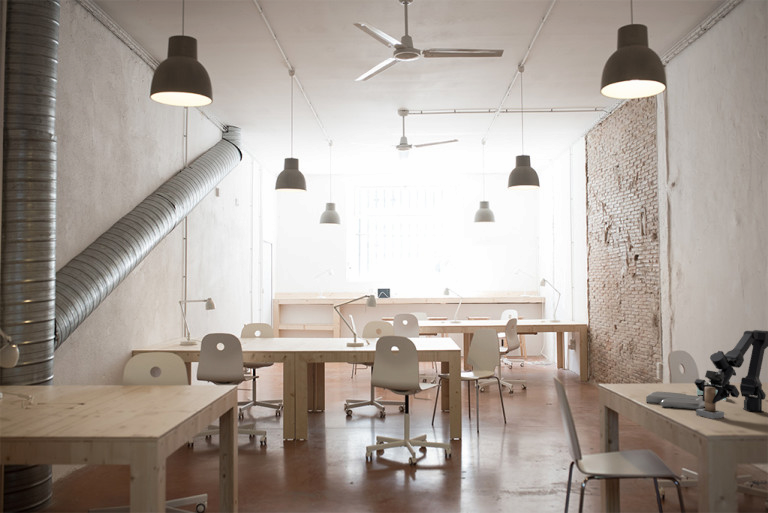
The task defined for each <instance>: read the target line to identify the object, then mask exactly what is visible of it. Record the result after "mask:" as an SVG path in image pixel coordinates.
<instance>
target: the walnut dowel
mask: <svg viewBox="0 0 768 513" xmlns="http://www.w3.org/2000/svg"><path fill="white" fill-rule="evenodd" d="M715 396H716V388H715V387H705V408H704V409H705V411H707V412H716V410H717V408H716V406H717V402H716V403H713V402H712V401H713V399H714V397H715Z"/></svg>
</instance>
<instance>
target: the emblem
mask: <svg viewBox="0 0 768 513" xmlns="http://www.w3.org/2000/svg"><path fill="white" fill-rule="evenodd" d="M702 399H703V396H698V395H692V394H686V393H681V392H673V391H672V392H671V391H670V392H669V391H652V392H650V393H649V394H647V395H646V396H645V400H646V401H645V403H646V402H648V403H647V404H652V403H660V404H659V405H660V406H661V407H663V408H671V407H673V408H672V409H687V410H697V409H704V408H703V407H705V401H703V400H702Z"/></svg>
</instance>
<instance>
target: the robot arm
mask: <svg viewBox="0 0 768 513" xmlns="http://www.w3.org/2000/svg"><path fill="white" fill-rule="evenodd" d="M751 346H752V350H751V354H750V358H749V359H750V361H749V364H748V370H747V375H746V376H745V377H742V378H741V380H740V385H739V389H740V391H739V390H738V388H737V386H736V385H735V384H731V382H730V380H731V378H732V377H733V376H734V377H735V376H737V372H736V369H734V368H737V369H739V368H741V367H742V365H743V363H744V361H745V357H744V356H745V354H746V353H747V351H749V349H750V347H751ZM767 348H768V330H763V329H761V330H759V329H754V330H745V331H744V332H743V335H742V336H741V337H740V339H739V341H738V342H737V343H736V345H735V346H734V348H732V349H731V350H729V351H728V350H727V352H726V353H724V351H723V350H718V351H717V352H713V353H712V354H711V355H710V357H709V358H710V361H711V362H712V364H713V366H714V367H715V369H717V371H714V370H708V369H707V370H706V371H705V372H706V373H705V375H704V378H706V379H708V381H706V380H705V379H701V378H696V379H695V380H694V382H693V383H694V384H695V386H696V388H697V387H698V389H699V390H700V391H703V399H702V400H703V401H705V387H715V388H716V390H718V392H717V394H716V396H715V397H714V399H713V401H712V402H713V403H716V404H717V403H718V402H720V401H723V400H722V399H724V398H726V399H727V398H730V397H731V398H739V396H740V395H741V397H744V400H743V408H742V410H745V409H746V410H745V411H747V410H748V412H750V411H761V412H760V413H764V412H765V410H762V409H763V407H762V406H763V401H764V400H766V392H764V390H763V388H762V387H763V384H762V382H761V379H760V374H761V371H762V370H761V369H762V364H763V359H764V354H765V350H766V349H767ZM709 383H711V384H709Z"/></svg>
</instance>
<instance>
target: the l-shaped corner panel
mask: <svg viewBox="0 0 768 513" xmlns="http://www.w3.org/2000/svg"><path fill="white" fill-rule="evenodd" d="M708 383H709V384H711V382H708ZM717 392H718V390H716V394H717ZM698 395H703V391H700V390H699V389H698V387H697V386H696V396H698ZM723 400H726V401H727V398H724V399H723ZM723 400H722V401H723Z"/></svg>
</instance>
